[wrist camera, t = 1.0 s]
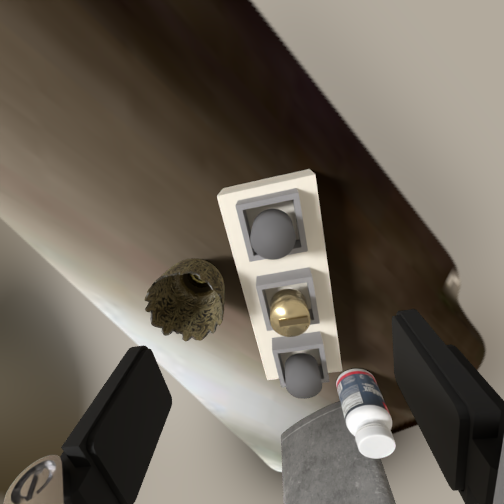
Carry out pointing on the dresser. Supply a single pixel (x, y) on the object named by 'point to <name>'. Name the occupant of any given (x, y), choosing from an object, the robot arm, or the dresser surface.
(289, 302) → the brass knob
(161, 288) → the olive hollow bell-shaped piece
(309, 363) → the button
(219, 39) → the dresser surface
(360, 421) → the pill bottle
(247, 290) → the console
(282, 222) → the button
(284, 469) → the flask
